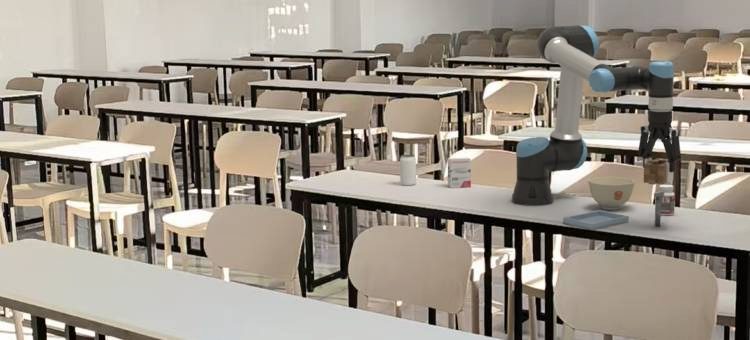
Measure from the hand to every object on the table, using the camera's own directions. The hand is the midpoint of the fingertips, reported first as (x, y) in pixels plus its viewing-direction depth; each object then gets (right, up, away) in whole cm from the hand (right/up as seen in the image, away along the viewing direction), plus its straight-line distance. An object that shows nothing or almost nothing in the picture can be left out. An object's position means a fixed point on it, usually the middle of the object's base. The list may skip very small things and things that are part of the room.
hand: (658, 179), depth 329 cm
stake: (0, -15, +3) cm, 16 cm away
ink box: (-58, -4, +79) cm, 98 cm away
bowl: (-8, -11, +32) cm, 35 cm away
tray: (-18, -14, +10) cm, 25 cm away
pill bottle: (+8, -12, +20) cm, 25 cm away
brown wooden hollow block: (0, 0, 0) cm, 0 cm away
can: (-78, -3, +86) cm, 117 cm away
